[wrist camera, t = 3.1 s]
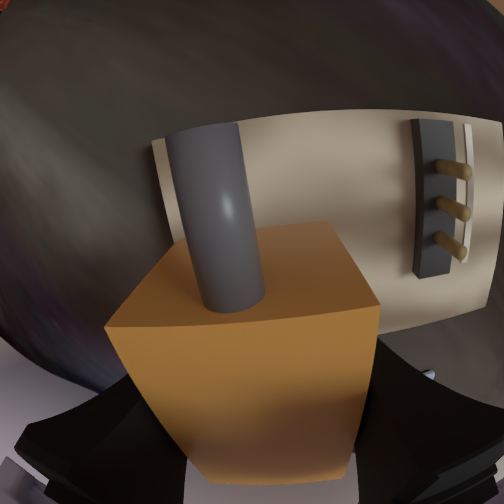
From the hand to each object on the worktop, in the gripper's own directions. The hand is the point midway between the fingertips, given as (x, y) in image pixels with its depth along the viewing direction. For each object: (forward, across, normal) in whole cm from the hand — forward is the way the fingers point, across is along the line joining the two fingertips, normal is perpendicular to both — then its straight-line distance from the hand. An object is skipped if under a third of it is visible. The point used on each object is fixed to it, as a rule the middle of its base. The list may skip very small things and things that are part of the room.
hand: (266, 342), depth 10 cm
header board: (+7, -6, -1) cm, 10 cm away
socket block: (+1, 0, -1) cm, 2 cm away
